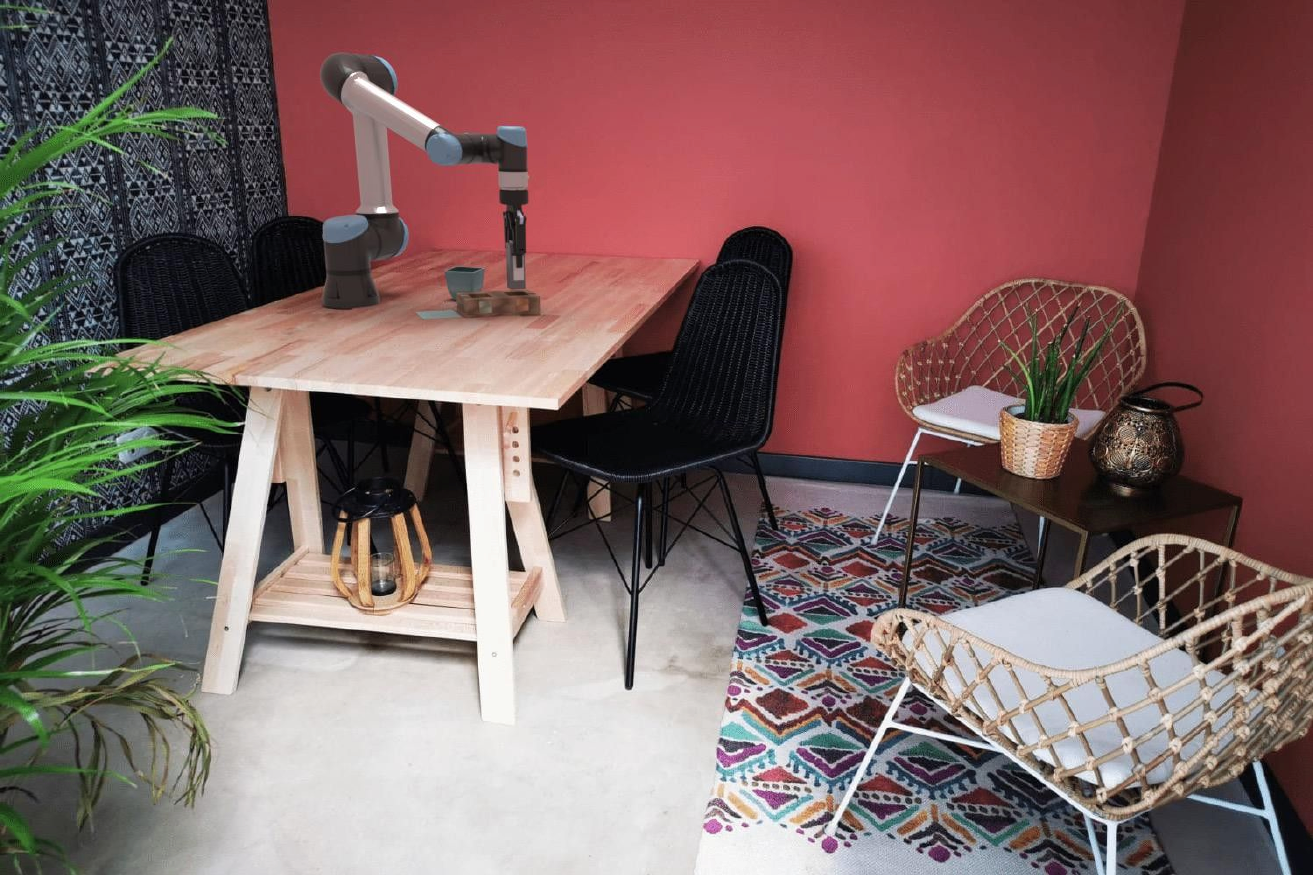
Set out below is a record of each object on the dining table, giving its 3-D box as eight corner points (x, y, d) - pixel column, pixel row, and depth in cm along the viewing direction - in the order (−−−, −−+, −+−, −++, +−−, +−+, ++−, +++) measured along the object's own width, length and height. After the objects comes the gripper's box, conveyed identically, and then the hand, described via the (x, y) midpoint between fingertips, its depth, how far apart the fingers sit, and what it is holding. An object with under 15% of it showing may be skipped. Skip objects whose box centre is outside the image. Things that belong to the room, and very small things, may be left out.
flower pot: (474, 304, 264) (473, 272, 261) (445, 302, 265) (443, 270, 262) (486, 298, 272) (485, 267, 269) (457, 297, 273) (456, 266, 270)
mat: (422, 321, 241) (422, 319, 241) (415, 313, 250) (415, 312, 249) (461, 318, 245) (461, 317, 245) (452, 311, 254) (452, 309, 253)
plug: (511, 289, 250) (509, 241, 246) (507, 287, 254) (505, 240, 249) (525, 288, 252) (524, 241, 248) (521, 286, 255) (520, 239, 251)
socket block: (466, 319, 244) (466, 299, 242) (456, 311, 254) (456, 292, 252) (540, 314, 252) (540, 295, 250) (528, 307, 262) (528, 288, 260)
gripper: (537, 191, 238) (539, 283, 246) (518, 186, 253) (520, 273, 261) (508, 191, 235) (511, 284, 243) (490, 186, 250) (494, 274, 258)
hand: (516, 278), depth 252 cm, fingers closed on plug, 4 cm apart
